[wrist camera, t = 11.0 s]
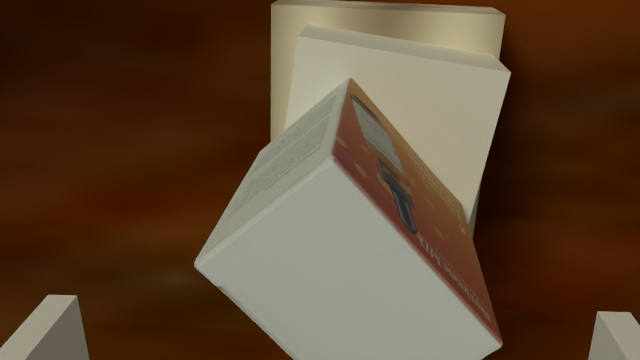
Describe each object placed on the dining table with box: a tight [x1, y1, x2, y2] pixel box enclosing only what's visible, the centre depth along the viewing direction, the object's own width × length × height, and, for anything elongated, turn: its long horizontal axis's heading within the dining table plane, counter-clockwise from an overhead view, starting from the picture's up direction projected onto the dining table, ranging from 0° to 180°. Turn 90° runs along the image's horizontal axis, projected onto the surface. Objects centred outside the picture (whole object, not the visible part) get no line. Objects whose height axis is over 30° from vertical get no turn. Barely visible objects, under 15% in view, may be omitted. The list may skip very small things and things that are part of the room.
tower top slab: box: [285, 24, 511, 224], centre depth 29 cm, size 9×11×4 cm
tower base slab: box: [271, 0, 505, 239], centre depth 32 cm, size 11×13×4 cm
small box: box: [194, 78, 503, 360], centre depth 22 cm, size 8×6×10 cm
